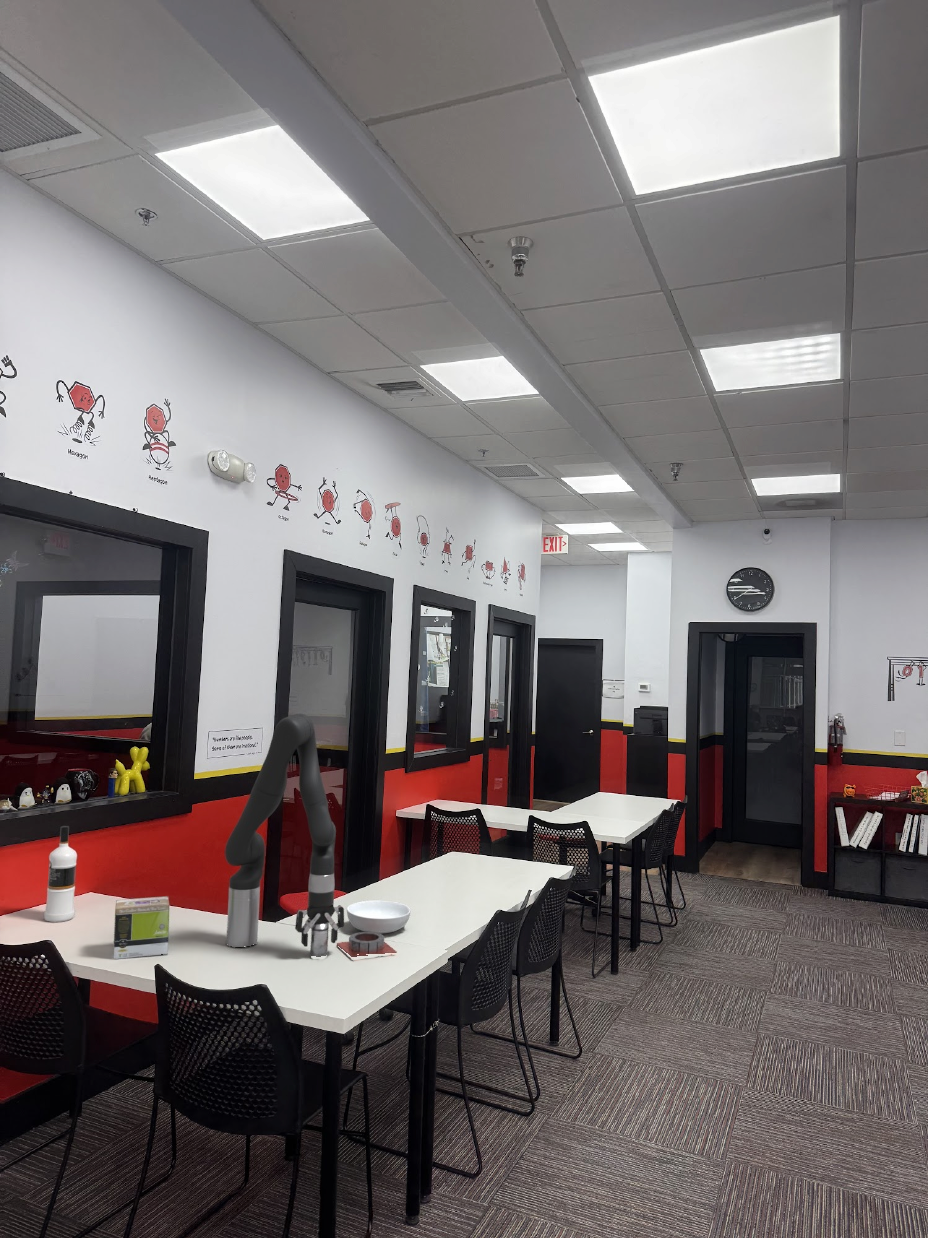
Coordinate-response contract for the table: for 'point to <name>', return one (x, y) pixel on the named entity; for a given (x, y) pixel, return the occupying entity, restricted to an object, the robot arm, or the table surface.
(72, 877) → the vodka
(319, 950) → the cylinder
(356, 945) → the collar
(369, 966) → the table surface
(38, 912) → the table surface
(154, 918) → the tea box
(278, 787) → the robot arm
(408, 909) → the serving bowl
